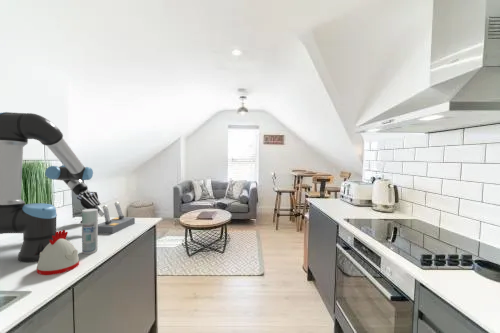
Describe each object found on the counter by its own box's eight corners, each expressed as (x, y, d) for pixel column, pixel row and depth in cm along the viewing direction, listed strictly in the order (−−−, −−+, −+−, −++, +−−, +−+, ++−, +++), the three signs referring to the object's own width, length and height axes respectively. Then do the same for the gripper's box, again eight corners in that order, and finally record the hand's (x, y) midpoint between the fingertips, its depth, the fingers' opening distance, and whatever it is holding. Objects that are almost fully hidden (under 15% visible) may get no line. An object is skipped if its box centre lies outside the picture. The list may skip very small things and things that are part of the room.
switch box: (112, 233, 152) (112, 226, 152) (93, 232, 153) (93, 225, 153) (134, 223, 176) (134, 217, 176) (118, 222, 177) (118, 216, 177)
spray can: (79, 254, 120) (79, 211, 119) (84, 249, 126) (84, 208, 125) (95, 253, 121) (95, 211, 121) (99, 248, 128) (99, 208, 127)
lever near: (108, 224, 156) (105, 205, 156) (104, 224, 156) (101, 206, 156) (112, 222, 159) (108, 204, 159) (107, 223, 159) (104, 205, 159)
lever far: (122, 218, 170) (116, 201, 170) (118, 219, 170) (112, 203, 170) (125, 217, 173) (119, 201, 173) (121, 218, 173) (115, 202, 173)
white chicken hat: (86, 261, 112) (86, 227, 112) (60, 276, 98) (60, 237, 98) (57, 259, 113) (57, 226, 113) (27, 273, 100) (26, 235, 99)
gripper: (73, 183, 152) (100, 213, 151) (89, 181, 165) (114, 208, 164) (65, 192, 153) (91, 221, 152) (81, 189, 166) (106, 216, 165)
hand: (103, 214), depth 158 cm, fingers closed
